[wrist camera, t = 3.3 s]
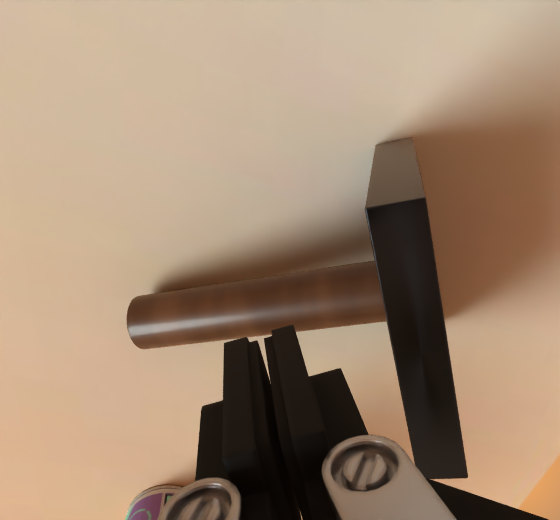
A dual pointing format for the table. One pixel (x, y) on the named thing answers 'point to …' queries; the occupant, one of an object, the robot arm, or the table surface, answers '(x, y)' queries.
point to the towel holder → (346, 308)
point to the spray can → (150, 502)
